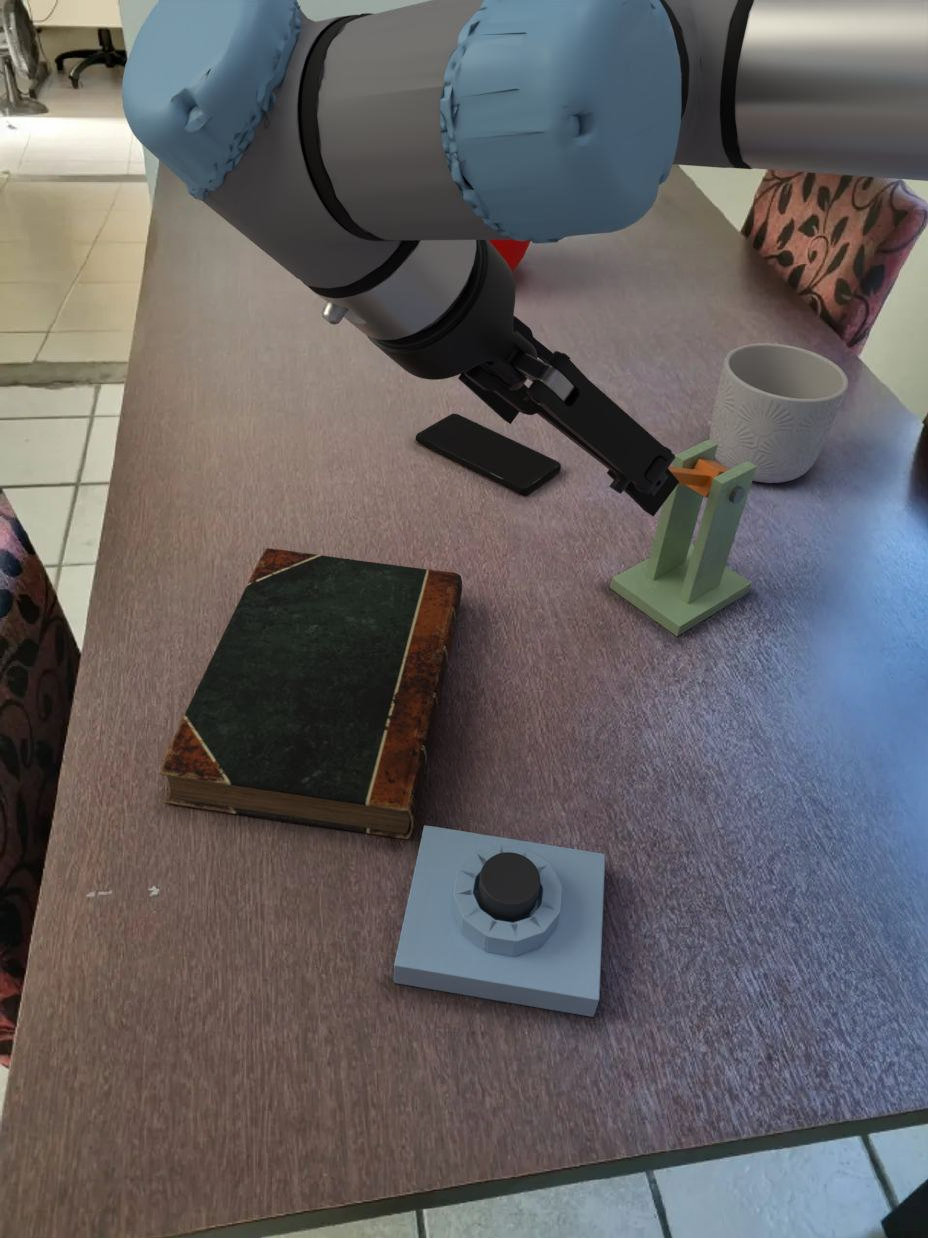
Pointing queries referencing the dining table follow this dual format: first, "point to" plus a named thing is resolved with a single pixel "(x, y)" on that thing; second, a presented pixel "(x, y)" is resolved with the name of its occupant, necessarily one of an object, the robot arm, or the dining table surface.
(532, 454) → the smartphone
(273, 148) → the robot arm
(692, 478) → the switch lever
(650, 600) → the switch bracket
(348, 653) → the book
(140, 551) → the dining table surface
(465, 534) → the dining table surface
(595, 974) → the button housing
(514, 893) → the button
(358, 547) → the dining table surface
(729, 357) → the planter
